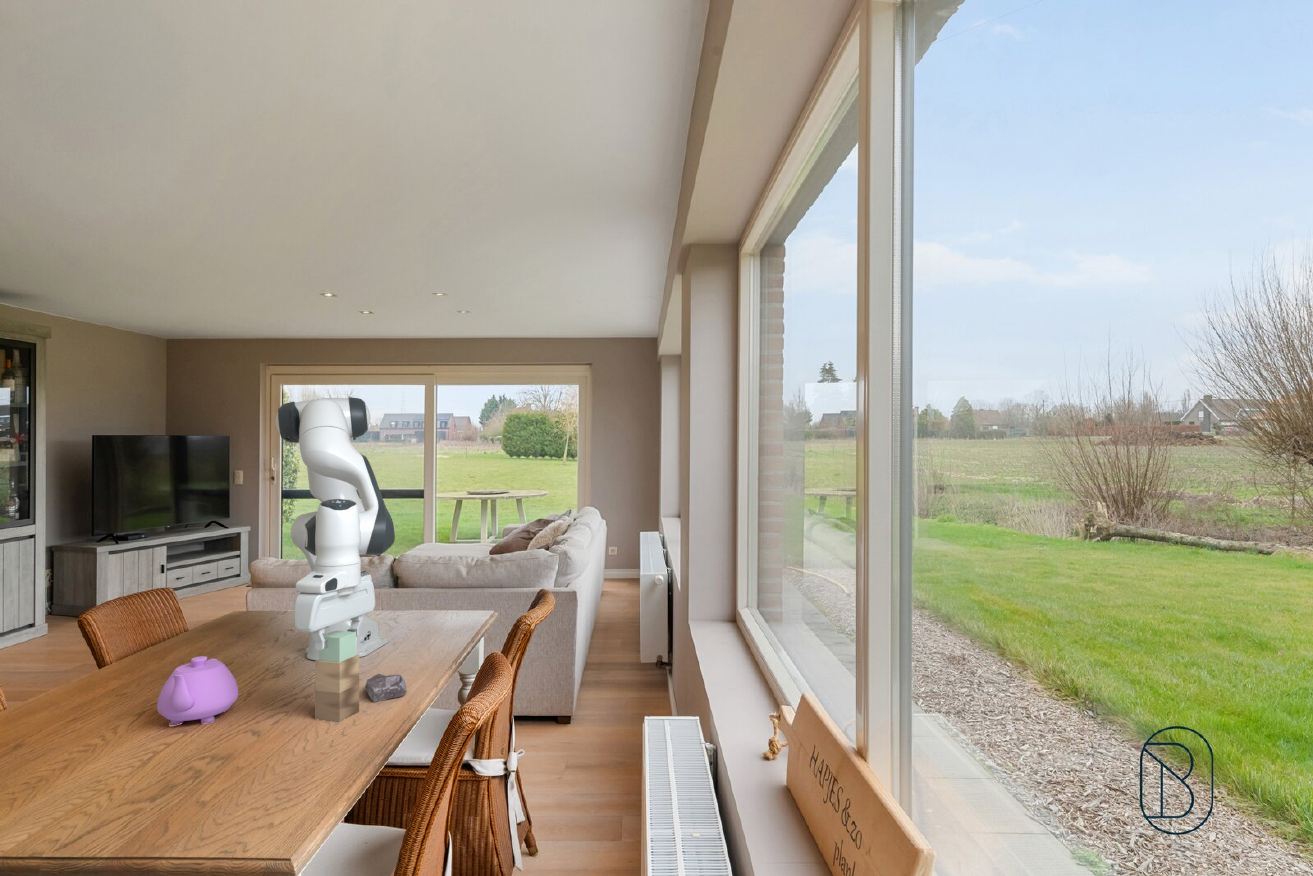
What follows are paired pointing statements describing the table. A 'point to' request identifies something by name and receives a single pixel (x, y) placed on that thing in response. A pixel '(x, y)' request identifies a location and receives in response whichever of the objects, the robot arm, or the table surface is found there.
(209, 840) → the table surface
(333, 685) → the tower top
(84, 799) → the table surface
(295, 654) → the table surface
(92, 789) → the table surface
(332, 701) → the tower bottom
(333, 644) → the sage block
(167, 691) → the teapot
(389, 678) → the rock
